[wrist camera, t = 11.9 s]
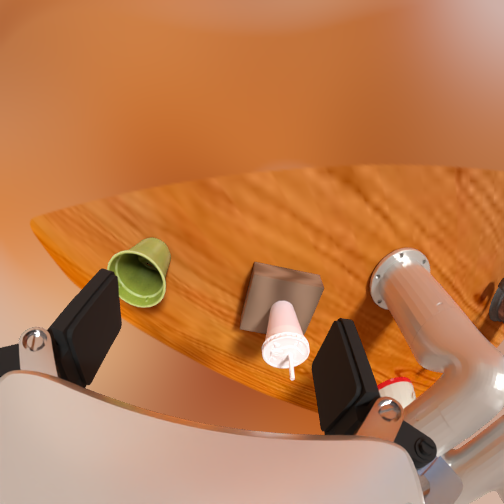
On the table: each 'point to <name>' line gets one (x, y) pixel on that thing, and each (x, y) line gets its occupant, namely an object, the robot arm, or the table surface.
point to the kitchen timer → (398, 390)
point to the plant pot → (142, 272)
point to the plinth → (279, 295)
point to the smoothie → (284, 339)
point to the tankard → (498, 304)
